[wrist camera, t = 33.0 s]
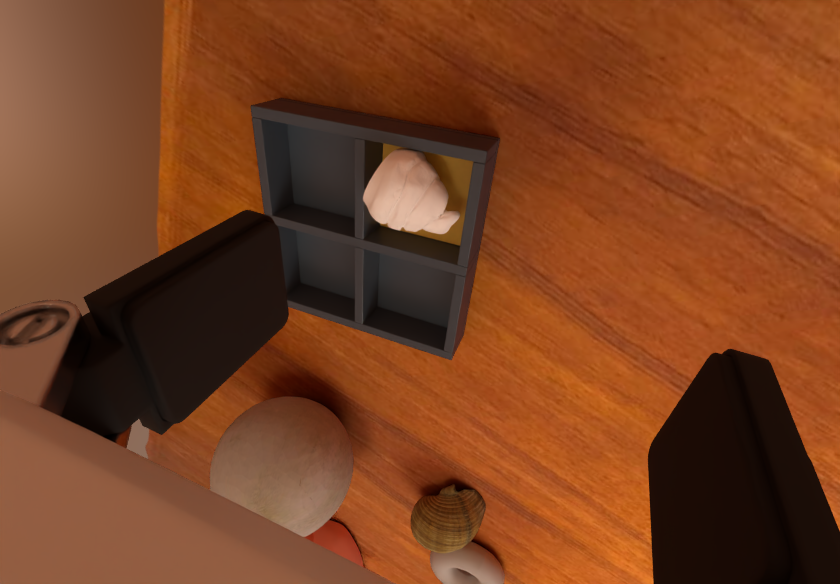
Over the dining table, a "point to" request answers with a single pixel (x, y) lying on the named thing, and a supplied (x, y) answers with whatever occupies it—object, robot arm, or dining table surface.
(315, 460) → the decorative sphere
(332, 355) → the dining table surface
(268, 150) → the grid
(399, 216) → the garlic bulb
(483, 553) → the donut
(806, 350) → the dining table surface
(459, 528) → the seashell
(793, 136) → the dining table surface
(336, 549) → the pot
